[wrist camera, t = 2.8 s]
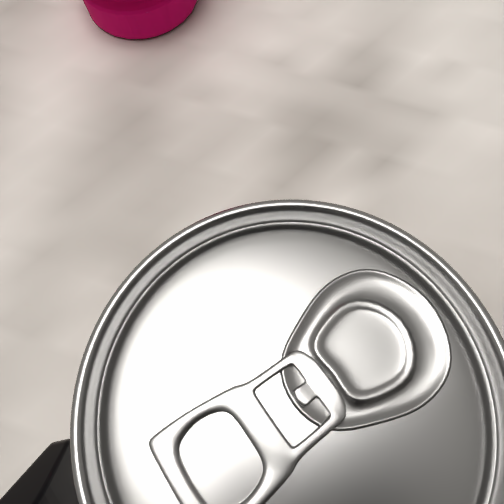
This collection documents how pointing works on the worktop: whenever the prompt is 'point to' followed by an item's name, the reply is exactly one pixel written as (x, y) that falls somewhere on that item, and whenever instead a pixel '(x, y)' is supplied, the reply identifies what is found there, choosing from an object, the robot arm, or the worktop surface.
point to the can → (291, 370)
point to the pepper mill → (139, 16)
